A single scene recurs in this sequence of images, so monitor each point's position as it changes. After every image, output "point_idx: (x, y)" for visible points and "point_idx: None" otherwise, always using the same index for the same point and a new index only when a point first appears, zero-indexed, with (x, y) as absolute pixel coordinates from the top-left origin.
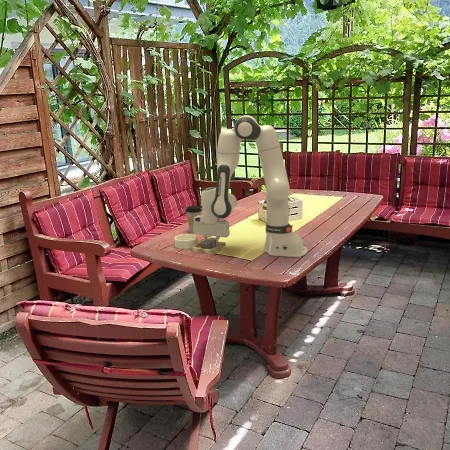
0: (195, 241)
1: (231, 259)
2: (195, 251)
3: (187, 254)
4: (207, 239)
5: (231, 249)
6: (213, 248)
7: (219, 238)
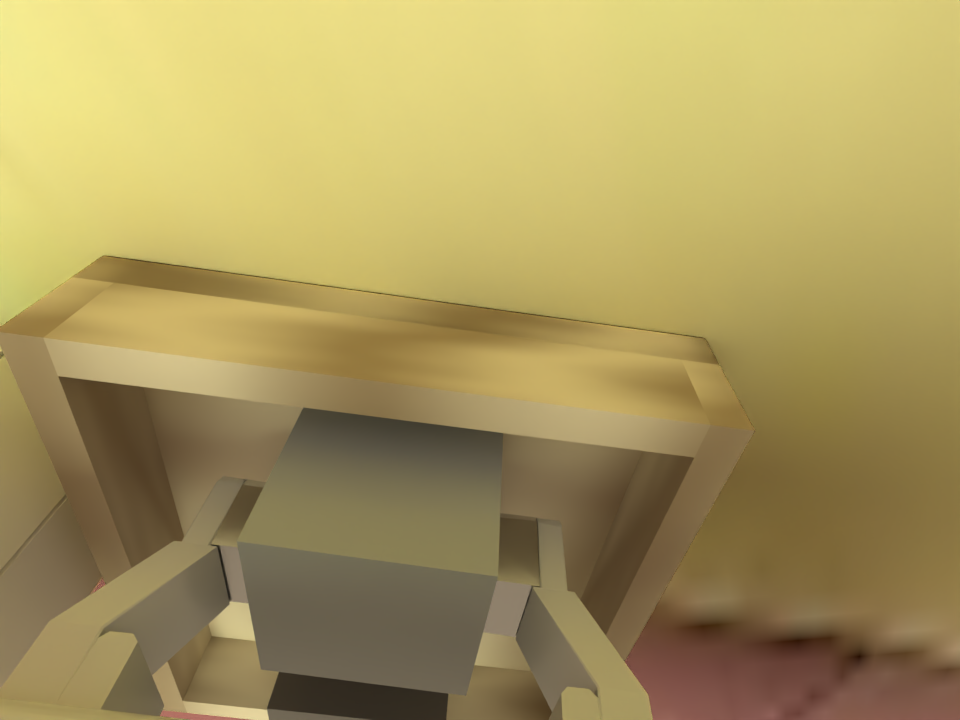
0: (33, 625)
1: (826, 697)
2: None
3: None
4: (285, 671)
5: (844, 410)
6: None
7: (618, 661)
